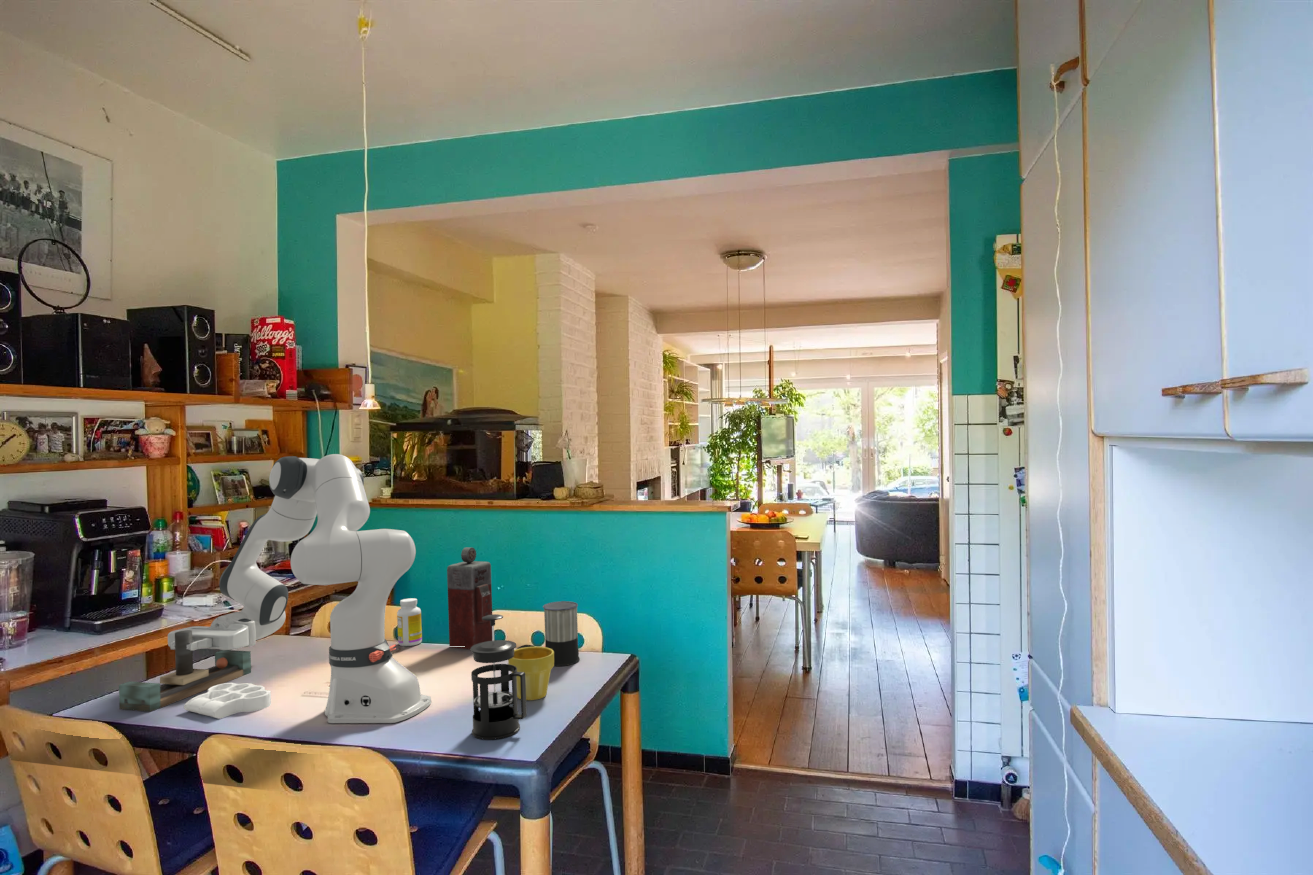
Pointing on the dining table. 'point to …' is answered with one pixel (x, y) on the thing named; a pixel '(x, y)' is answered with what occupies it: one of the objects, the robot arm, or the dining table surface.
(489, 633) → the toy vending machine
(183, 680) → the cylinder
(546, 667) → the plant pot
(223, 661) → the button
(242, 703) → the white paint palette
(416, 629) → the supplement bottle
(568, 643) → the milk frother
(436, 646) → the dining table surface
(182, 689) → the rail track
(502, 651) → the french press
